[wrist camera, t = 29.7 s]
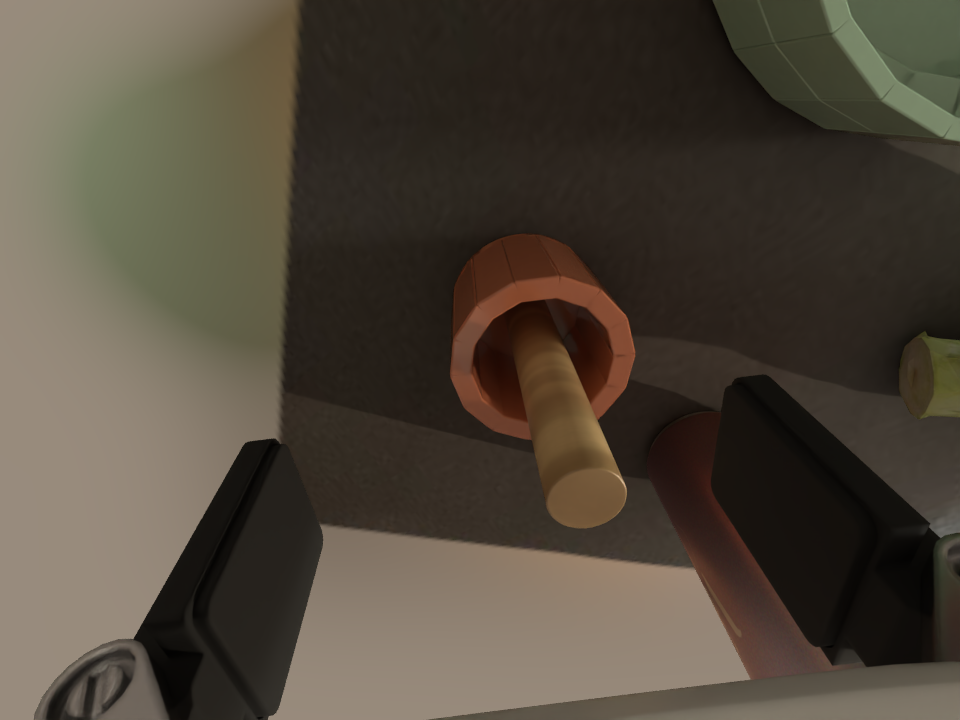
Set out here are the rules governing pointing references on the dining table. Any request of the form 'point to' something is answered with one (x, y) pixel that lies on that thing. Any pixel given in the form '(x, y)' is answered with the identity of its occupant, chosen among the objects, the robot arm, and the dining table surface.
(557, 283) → the holder
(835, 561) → the robot arm
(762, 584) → the beverage can
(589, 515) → the stick
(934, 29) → the bowl
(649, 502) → the dining table surface
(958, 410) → the vegetable
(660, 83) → the dining table surface
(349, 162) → the dining table surface
